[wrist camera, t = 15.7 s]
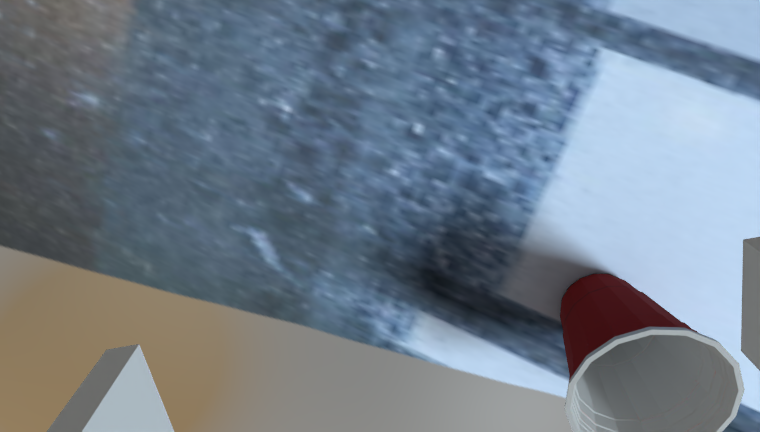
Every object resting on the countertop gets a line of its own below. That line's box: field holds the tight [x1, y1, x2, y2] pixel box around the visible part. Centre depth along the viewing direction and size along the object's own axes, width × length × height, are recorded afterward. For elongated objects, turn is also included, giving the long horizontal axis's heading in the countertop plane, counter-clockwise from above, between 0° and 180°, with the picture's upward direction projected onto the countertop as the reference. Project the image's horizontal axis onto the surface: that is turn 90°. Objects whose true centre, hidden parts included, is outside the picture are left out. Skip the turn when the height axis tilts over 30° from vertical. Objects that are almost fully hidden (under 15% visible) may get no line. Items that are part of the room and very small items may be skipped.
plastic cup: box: [560, 274, 744, 432], centre depth 44 cm, size 11×11×12 cm
